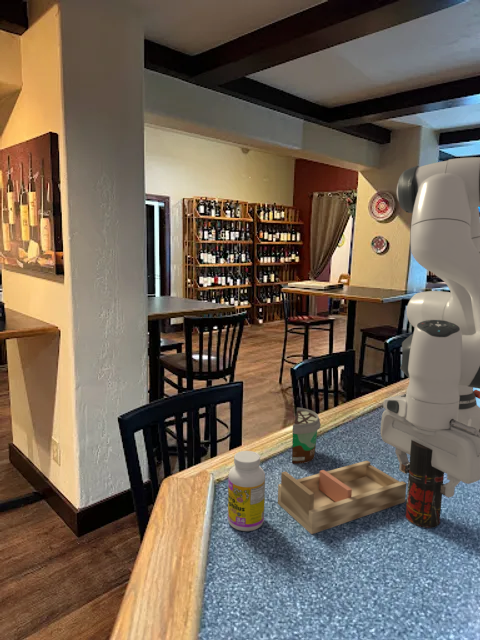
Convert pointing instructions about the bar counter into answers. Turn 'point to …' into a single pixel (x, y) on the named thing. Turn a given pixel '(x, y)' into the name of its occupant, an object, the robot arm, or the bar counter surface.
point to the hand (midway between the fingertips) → (425, 482)
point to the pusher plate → (333, 487)
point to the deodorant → (423, 488)
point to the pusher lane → (324, 513)
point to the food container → (304, 436)
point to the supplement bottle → (246, 492)
